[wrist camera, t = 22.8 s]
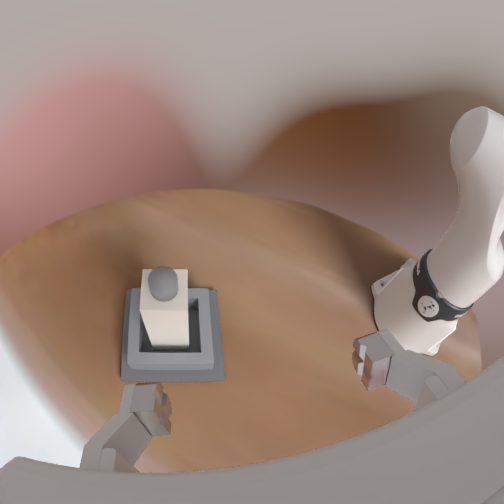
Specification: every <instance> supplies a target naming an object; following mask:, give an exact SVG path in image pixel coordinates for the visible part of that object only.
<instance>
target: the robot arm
mask: <svg viewBox="0 0 504 504" xmlns="http://www.w3.org/2000/svg"><path fill="white" fill-rule="evenodd" d="M450 157H451V162H452V166H453V169H454V172H455V174H456V177H457V181H458V187H459V204H458V209H457V213H456V215H455V218H454V220H453V222H452V224H451V225H450V227H449V228H448V230H447V231H446V233H445V234H444V235H443V237H442V238H441V239H440V241H439V242H438V243H437V244H436V246H435V247H434V248H433V249H430V250H429V251H428V252H426V253H425V254H424V255H423V256H422V257H421V258H420V259H419V261H418V262H415V261H414V260H413V259H412V258H410V259H409V260H407V261H406V262H405V263H404V264H403V265H402V266H401V267H400V269H399V270H397V271H395V272H393V273H391V274H389V275H387V276H385V277H384V278H382V279H380V280H378V281H376V282H374V283H373V284H372V286H371V288H372V293H373V296H374V299H375V304H374V316H375V321H376V324H377V327H378V329H379V331H377V332H374V333H371V334H368V335H365V336H362V337H359V338H356V339H354V342H353V347H354V348H355V351H354V352H353V354H352V361H353V365H354V368H355V370H356V372H357V374H360V375H362V382H363V384H364V386H365V387H366V389H367V391H370V390H373V389H376V388H378V387H381V386H384V385H385V386H386V387H388V388H390V389H392V390H393V391H395V392H397V393H399V394H401V395H402V396H404V397H406V398H408V399H409V400H411V401H413V402H415V403H416V406H415V408H414V410H413V412H412V413H410V414H408V415H405V416H403V417H401V418H399V419H397V420H395V421H392V422H390V423H388V424H385V425H383V426H381V427H378V428H376V429H373V430H371V431H368V432H366V433H363V434H361V435H358V436H355V437H352V438H350V439H347V440H344V441H341V442H338V443H335V444H332V445H329V446H325V447H322V448H319V449H315V450H312V451H308V452H305V453H301V454H297V455H293V456H289V457H285V458H280V459H276V460H271V461H266V462H261V463H256V464H250V465H244V466H238V467H231V468H223V469H215V470H205V471H193V472H176V473H140V472H139V471H138V470H137V469H135V468H134V467H133V466H134V464H135V463H136V461H137V460H138V458H139V457H140V455H141V454H142V452H143V451H144V449H145V448H146V446H147V445H148V443H149V442H150V440H151V439H152V436H163V435H170V433H171V422H170V420H169V419H168V418H169V416H170V415H171V411H172V408H171V402H170V399H169V397H168V395H167V394H166V393H164V392H163V386H162V385H161V383H160V382H149V383H137V384H126V385H125V387H124V391H123V395H122V400H121V404H120V409H119V413H116V414H115V415H114V416H113V417H112V418H111V419H110V420H109V421H108V422H107V423H106V424H105V425H104V426H103V427H102V428H101V429H100V430H99V431H98V432H97V433H96V434H95V435H94V436H93V437H92V438H91V439H90V440H89V441H88V442H87V444H86V445H85V446H84V450H83V454H82V459H81V463H80V468H75V467H68V466H62V465H57V464H52V463H47V462H42V461H37V460H33V459H29V458H26V457H21V456H18V457H15V458H13V459H12V460H10V461H9V462H8V463H7V464H5V465H4V466H3V467H2V468H1V469H0V504H504V356H503V357H502V358H500V359H499V360H498V361H496V362H495V363H494V364H492V365H491V366H489V367H488V368H487V369H485V370H484V371H482V372H481V373H479V374H478V375H476V376H475V377H473V378H472V379H470V380H469V381H467V382H466V381H465V380H464V379H463V378H462V376H461V375H460V374H459V373H458V372H457V371H456V369H455V368H454V367H453V366H452V365H450V364H448V363H445V362H442V361H439V360H436V359H433V358H430V357H428V356H425V355H422V354H419V353H424V354H427V355H431V356H432V355H434V354H436V353H437V351H438V349H439V346H440V343H441V341H442V340H443V339H445V338H446V337H447V336H448V335H450V334H451V333H452V332H453V331H454V330H455V329H456V324H457V320H458V318H459V317H461V316H463V315H464V314H465V313H466V312H467V311H468V310H469V309H470V308H471V307H472V306H473V304H474V302H475V301H476V300H477V299H478V298H479V297H481V296H482V295H483V294H484V293H485V292H486V291H487V290H489V289H490V288H491V287H492V286H493V285H494V284H495V283H496V282H497V281H498V280H499V279H500V277H501V275H502V273H503V270H504V250H503V246H502V243H501V240H500V236H501V234H502V232H503V231H504V116H503V115H501V114H499V113H497V112H495V111H493V110H491V109H489V108H487V107H484V106H483V107H477V108H474V109H472V110H470V111H468V112H467V113H465V114H464V115H463V116H462V117H461V118H460V119H459V120H458V122H457V123H456V125H455V127H454V129H453V132H452V135H451V140H450ZM381 285H382V286H381Z"/></svg>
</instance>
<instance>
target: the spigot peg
mask: <svg viewBox="0 0 504 504" xmlns="http://www.w3.org/2000/svg"><path fill="white" fill-rule="evenodd" d="M140 313H141V316H142V319H143V322H144V325H145V328H146V330H147V333H148V336H149V339H150V341H151V344H152V347H153V349H189V324H188V270H185V269H172V268H170V267H166V266H161V267H157V268H155V269H143V273H142V283H141V296H140Z"/></svg>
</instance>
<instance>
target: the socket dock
mask: <svg viewBox="0 0 504 504" xmlns="http://www.w3.org/2000/svg"><path fill="white" fill-rule="evenodd" d="M140 296H141V288H132V290H126V300H125V311H124V324H123V339H122V363H121V380H122V381H134V382H212V381H225V374H224V364H223V354H222V344H221V334H220V323H219V312H218V300H217V290H209V288H188V324H189V349H153V347H152V344H151V341H150V339H149V336H148V333H147V330H146V328H145V325H144V322H143V319H142V316H141V313H140Z"/></svg>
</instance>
